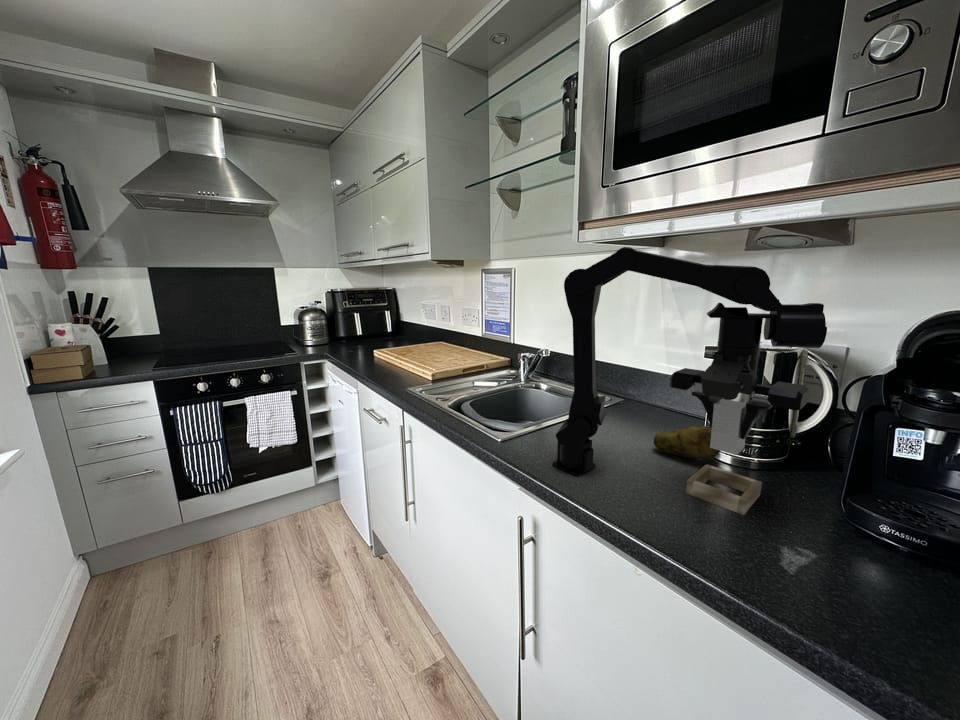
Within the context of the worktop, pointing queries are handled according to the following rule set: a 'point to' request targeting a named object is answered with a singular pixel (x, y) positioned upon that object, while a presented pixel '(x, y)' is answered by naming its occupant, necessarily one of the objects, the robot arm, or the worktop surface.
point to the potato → (687, 442)
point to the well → (722, 497)
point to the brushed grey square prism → (728, 426)
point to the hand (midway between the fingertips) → (728, 434)
